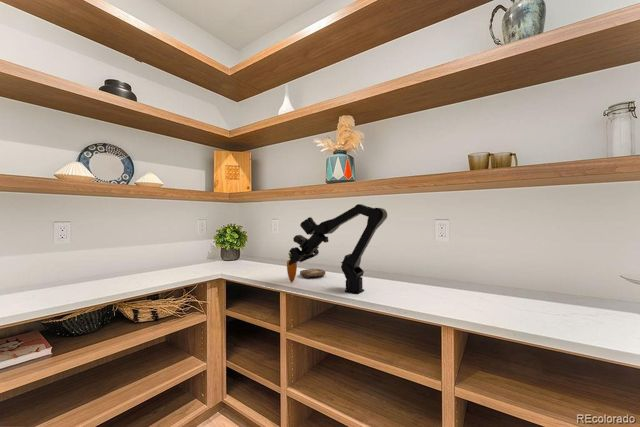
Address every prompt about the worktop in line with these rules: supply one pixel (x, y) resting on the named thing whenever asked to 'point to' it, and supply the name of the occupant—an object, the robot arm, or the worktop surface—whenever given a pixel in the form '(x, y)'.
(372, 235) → the robot arm
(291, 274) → the carrot
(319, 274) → the walnut base
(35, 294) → the worktop surface
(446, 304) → the worktop surface
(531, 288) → the worktop surface
